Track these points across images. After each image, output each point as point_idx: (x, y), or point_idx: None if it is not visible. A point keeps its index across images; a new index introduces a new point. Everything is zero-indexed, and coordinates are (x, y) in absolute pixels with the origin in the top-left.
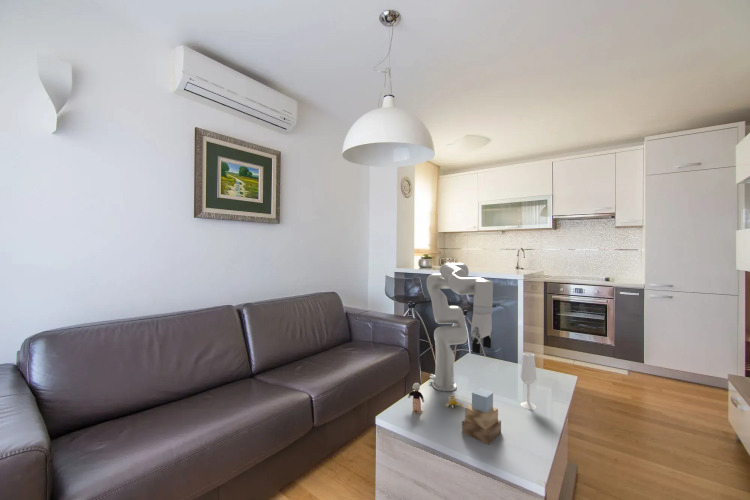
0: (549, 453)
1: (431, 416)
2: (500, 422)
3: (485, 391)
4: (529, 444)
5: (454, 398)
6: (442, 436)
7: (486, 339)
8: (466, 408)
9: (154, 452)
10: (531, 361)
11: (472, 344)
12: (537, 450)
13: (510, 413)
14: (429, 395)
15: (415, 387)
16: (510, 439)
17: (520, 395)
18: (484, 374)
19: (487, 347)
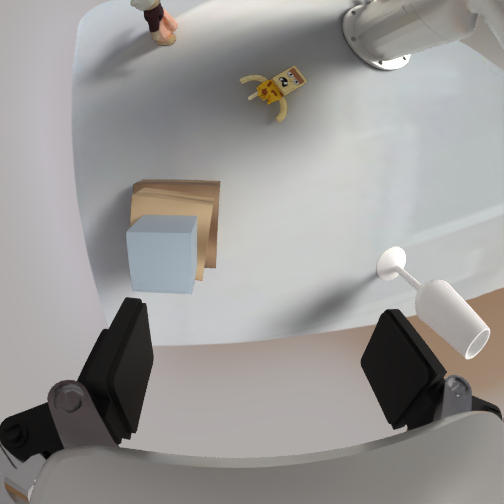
0: (208, 343)
1: (167, 72)
2: (211, 266)
3: (179, 268)
4: (212, 313)
5: (289, 86)
6: (98, 152)
7: (404, 395)
8: (132, 200)
9: None
10: (453, 346)
11: (96, 355)
12: (202, 328)
13: (333, 242)
14: (291, 13)
15: (131, 2)
16: (202, 280)
17: (433, 234)
18: (487, 131)
19: (366, 347)
